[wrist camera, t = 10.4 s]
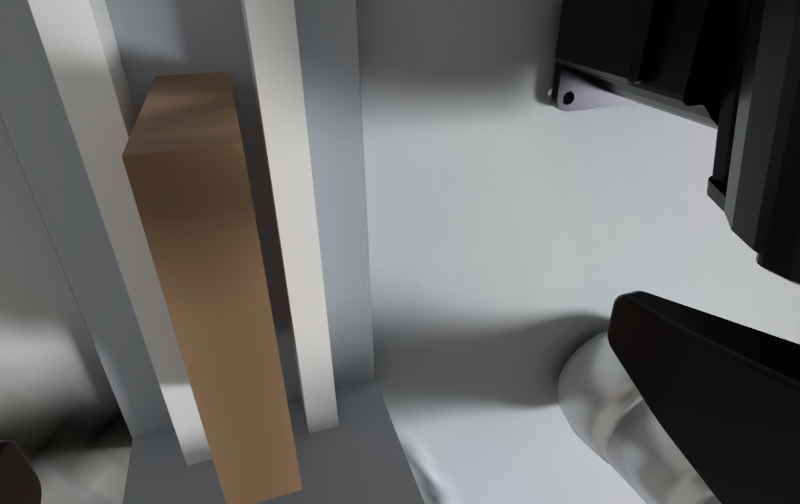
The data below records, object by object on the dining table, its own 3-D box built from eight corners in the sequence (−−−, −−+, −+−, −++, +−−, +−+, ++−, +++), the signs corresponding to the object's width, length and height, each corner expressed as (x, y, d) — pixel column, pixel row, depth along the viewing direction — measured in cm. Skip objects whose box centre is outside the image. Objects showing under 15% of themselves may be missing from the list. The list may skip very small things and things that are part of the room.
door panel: (228, 71, 15) (242, 143, 9) (274, 336, 20) (302, 489, 14) (155, 76, 14) (121, 155, 9) (221, 347, 20) (228, 511, 14)
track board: (341, -124, 14) (454, -191, 8) (370, 390, 25) (430, 549, 18) (-84, -135, 12) (-449, -251, 5) (145, 446, 22) (120, 656, 15)
